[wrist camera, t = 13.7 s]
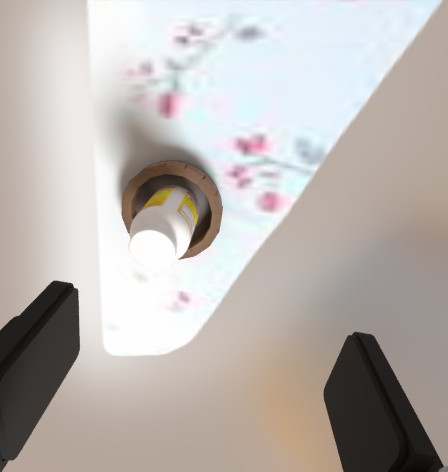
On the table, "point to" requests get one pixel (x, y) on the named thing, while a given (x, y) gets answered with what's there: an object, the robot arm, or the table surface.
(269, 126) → the table surface
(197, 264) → the table surface
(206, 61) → the table surface
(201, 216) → the ring holder
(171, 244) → the supplement bottle
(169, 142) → the table surface
